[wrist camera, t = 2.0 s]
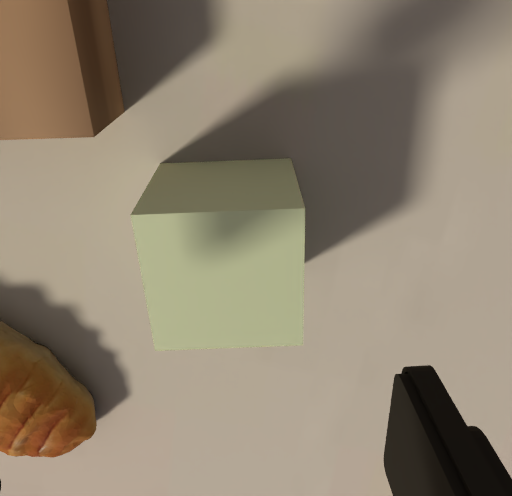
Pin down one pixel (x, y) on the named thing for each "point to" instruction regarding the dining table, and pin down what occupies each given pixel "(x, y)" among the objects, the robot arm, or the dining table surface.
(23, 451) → the pastry
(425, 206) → the dining table surface
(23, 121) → the walnut block
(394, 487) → the robot arm
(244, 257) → the green cube
